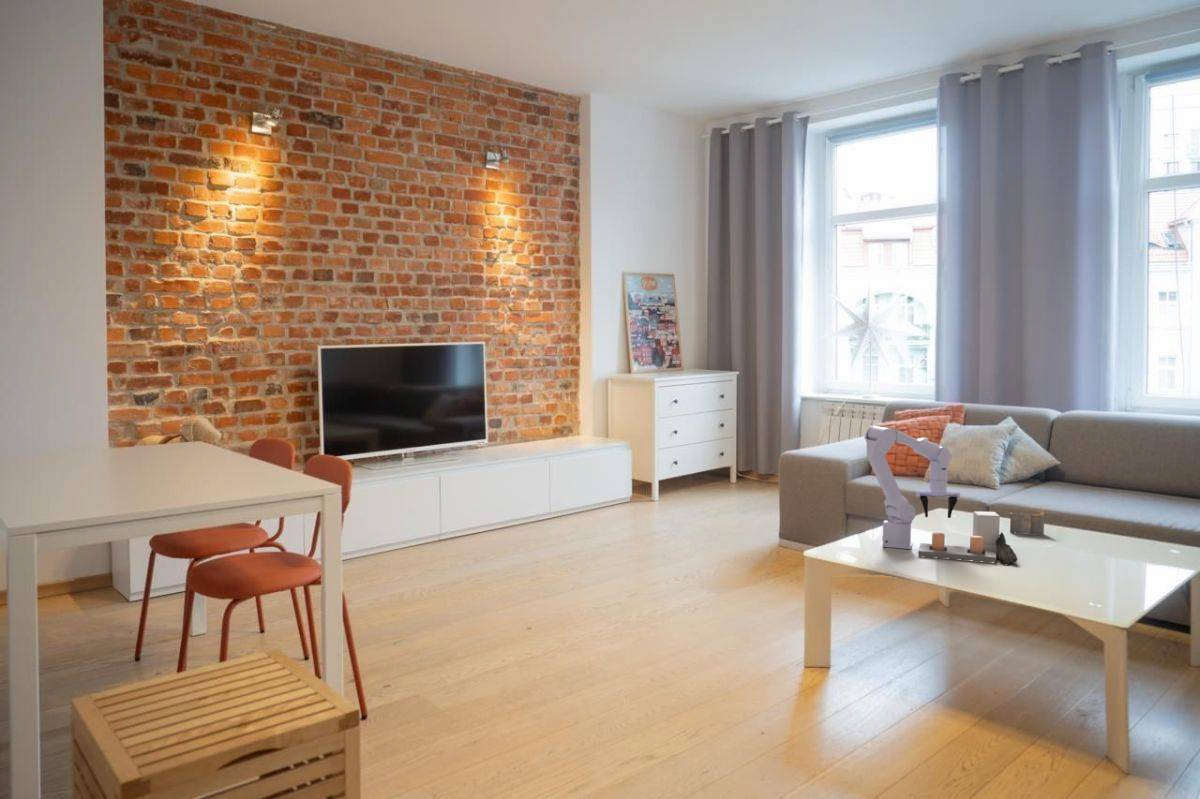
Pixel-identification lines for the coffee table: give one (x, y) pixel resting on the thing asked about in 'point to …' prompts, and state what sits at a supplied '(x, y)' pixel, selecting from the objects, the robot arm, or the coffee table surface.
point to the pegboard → (957, 553)
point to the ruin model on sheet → (1028, 523)
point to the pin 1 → (938, 541)
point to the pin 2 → (976, 544)
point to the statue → (1005, 550)
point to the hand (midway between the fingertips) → (937, 517)
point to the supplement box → (986, 527)
